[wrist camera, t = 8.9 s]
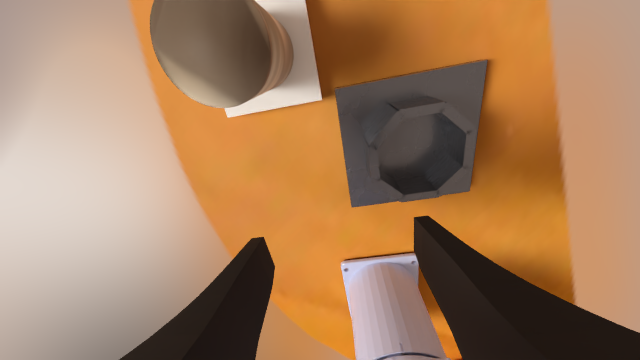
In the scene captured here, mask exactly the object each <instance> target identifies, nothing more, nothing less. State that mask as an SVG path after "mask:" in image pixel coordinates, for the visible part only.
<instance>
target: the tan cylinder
mask: <svg viewBox="0 0 640 360" xmlns="http://www.w3.org/2000/svg"><path fill="white" fill-rule="evenodd" d="M150 33H151V39H152V44H153V47H154V51H155V54H156V56H157V59H158V61H159V63H160V65H161V67H162V68H163V70H164V71H165V73H166V75H167V76H168V77H169V79H170V80H171V81H172V82H173V83H174V84H175V85H176V86H177V88H178V89H180V90H181V91H182V92H183V93H184V94H186V95H187V96H189V97H190V98H191V99H193V100H195V101H197V102H199V103H201V104H204V105H207V106H211V107H216V108H230V107H235V106H239V105H241V104H243V103H245V102H247V101H249V100H251V99H253V98H255V97H257V96H259V95H261V94H263V93H265V92H267V91H269V90H271V89H273V88H275V87H277V86H279V85H280V84H282V83H283V82H284V81H285V80H286V78H287V77H288V75H289V74H290V72H291V69H292V66H293V59H294V51H293V45H292V42H291V39H290V36H289V34H288V32H287V31H286V29H285V28H284V27H283V25H282V24H281V23H280V22H279V21H278V20H277V19H275V18H274V17H273V16H272V15H271V14H270V13H268V12H267V11H266V10H265V9H264V8H263V7H261V6H260V5H259V4H258V3H257V2H256V1H255V0H154V2H153V5H152V10H151V15H150Z"/></svg>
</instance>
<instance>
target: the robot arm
mask: <svg viewBox="0 0 640 360" xmlns="http://www.w3.org/2000/svg"><path fill="white" fill-rule="evenodd" d="M414 252H415V253H409V254H400V255H391V256H382V257H374V258H365V259H356V260H347V261H343V262H342V263H341V269H342V274H343V280H344V285H345V290H346V295H347V300H348V305H349V310H350V315H351V317H352V325H353V334H354V344H355V354H356V360H451V359H450V358H447V357H446V355H445V352H444V350H443V347H442V345H441V342H440V340H439V338H438V335H437V333H436V330H435V328H434V325H433V323H432V321H431V318H430V316H429V313H428V311H427V308H426V306H425V303H424V301H423V299H422V296H421V294H420V291H419V289H418V267H419V266H420V269H421V271H422V273H423V275H424V277H425V279H426V281H427V283H428V285H429V287H430V289H431V291H432V293H433V295H434V297H435V299H436V301H437V303H438V305H439V307H440V309H441V311H442V313H443V315H444V317H445V319H446V321H447V323H448V325H449V327H450V329H451V331H452V334H453V336H454V339H455V341H456V344H457V346H458V349H459V351H460V353H461V356H462V358H463V360H640V333H638V332H636V331H633V330H630V329H628V328H626V327H623V326H621V325H618V324H616V323H614V322H612V321H609V320H607V319H605V318H602V317H600V316H598V315H595V314H593V313H591V312H589V311H586V310H584V309H582V308H580V307H578V306H575V305H573V304H571V303H569V302H567V301H565V300H563V299H561V298H559V297H557V296H555V295H553V294H551V293H549V292H547V291H545V290H543V289H541V288H539V287H537V286H535V285H533V284H531V283H529V282H527V281H525V280H524V279H522V278H520V277H518V276H516V275H515V274H513V273H511V272H509V271H508V270H506V269H504V268H502V267H501V266H499V265H497V264H496V263H494V262H493V261H491V260H489V259H488V258H486V257H485V256H483V255H482V254H480V253H478V252H477V251H475V250H474V249H473V248H471V247H470V246H468V245H467V244H465V243H464V242H463V241H461V240H460V239H458V238H457V237H456V236H454V235H453V234H452V233H450V232H449V231H448V230H446V229H445V228H444V227H442V226H441V225H440V224H438V223H437V222H436V221H434V220H433V219H432V218H430V217H429V216H421V217H414ZM412 261H413V262H412ZM345 268H347V269H345ZM274 270H275V266H274V263H273V260H272V258H271V255H270V252H269V250H268V247H267V245H266V242H265V239H264V237H259V238H252V239H251V240H250V241H249V242H248V243H247V244H246V245H245V246H244V247H243V249H242V250H241V251H240V252H239V253H238V254H237V255H236V257H235V258H234V259H233V260H232V261H231V262H230V264H229V265H228V266H227V267H226V268H225V269H224V270H223V271H222V272H221V273H220V274H219V275H218V276H217V277H216V278H215V280H214V281H213V282H212V283H211V284H210V285H209V286H208V287H207V288H206V289H205V290H204V291H203V292H202V293H201V294H200V295H199V296H198V297H197V298H196V299H195V300H193V301H192V302H191V303H190V304H189V305H188V306H187V307H186V308H185V309H183V310H182V311H181V312H180V313H179V314H178V315H177V316H176V317H174V318H173V319H172V320H171V321H169V322H168V323H167V324H166V325H164V326H163V327H162V328H161V329H159V330H158V331H157V332H156V333H155V334H153V335H152V336H151V337H150V338H148V339H147V340H146V341H144V342H143V343H142V344H140V345H139V346H137V347H136V348H135V349H133V350H132V351H131V352H129V353H128V354H126V355H125V356H124V357H122V358H121V359H120V360H255V357H256V351H257V346H258V341H259V337H260V333H261V329H262V325H263V321H264V317H265V313H266V310H267V306H268V302H269V298H270V294H271V290H272V285H273V278H274Z"/></svg>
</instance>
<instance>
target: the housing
mask: <svg viewBox="0 0 640 360" xmlns="http://www.w3.org/2000/svg"><path fill="white" fill-rule="evenodd" d="M486 67H487V60H477V61H472V62H467V63H462V64H457V65H452V66H446V67H441V68H436V69H431V70H426V71H420V72H415V73H410V74H405V75H400V76H395V77H389V78H384V79H379V80H374V81H369V82H364V83H358V84H353V85H348V86H343V87H338V88H335V95H336V102H337V109H338V116H339V123H340V130H341V137H342V144H343V151H344V158H345V165H346V172H347V179H348V186H349V193H350V200H351V206H352V207H359V206H366V205H374V204H381V203H388V202H396V201H399V202H407V201H414V200H421V199H429V198H436V197H439V196H442V195H446V194H454V193H461V192H468V191H470V185H471V178H472V170H473V163H474V156H475V148H476V141H477V134H478V126H479V119H480V111H481V104H482V97H483V89H484V82H485V75H486Z"/></svg>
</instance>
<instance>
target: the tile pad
mask: <svg viewBox="0 0 640 360" xmlns="http://www.w3.org/2000/svg"><path fill="white" fill-rule="evenodd" d="M255 1H256V2H257V3H258V4H259V5H260V6H261V7H263V8H264V9H265V10H266V11H267V12H268V13H270V14H271V15H272V16H273V17H274V18H275V19H277V20H278V21H279V22H280V23H281V24H282V25H283V27H284V28H285V29H286V31H287V32H288V34H289V36H290V39H291V42H292V45H293V51H294V59H293V66H292V69H291V72H290V74H289V75H288V77H287V78H286V80H285V81H284V82H283V83H282V84H280V85H279V86H277V87H275V88H273V89H271V90H269V91H267V92H265V93H263V94H261V95H259V96H257V97H255V98H253V99H251V100H249V101H247V102H245V103H243V104H241V105H239V106H235V107H230V108H225V111H226V114H227V117H234V116H239V115H244V114H250V113H255V112H260V111H265V110H271V109H276V108H281V107H287V106H292V105H297V104H302V103H308V102H313V101H318V100H322V94H321V88H320V82H319V76H318V70H317V65H316V59H315V53H314V47H313V41H312V35H311V29H310V23H309V17H308V11H307V6H306V0H255Z"/></svg>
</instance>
